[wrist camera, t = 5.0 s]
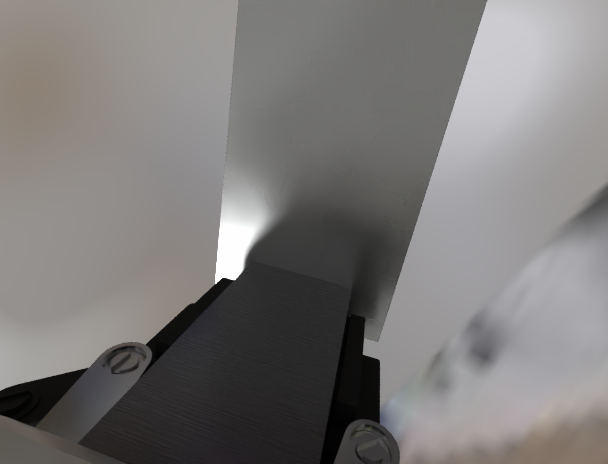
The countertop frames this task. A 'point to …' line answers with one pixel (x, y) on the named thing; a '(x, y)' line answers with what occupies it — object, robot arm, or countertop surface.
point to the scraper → (301, 224)
